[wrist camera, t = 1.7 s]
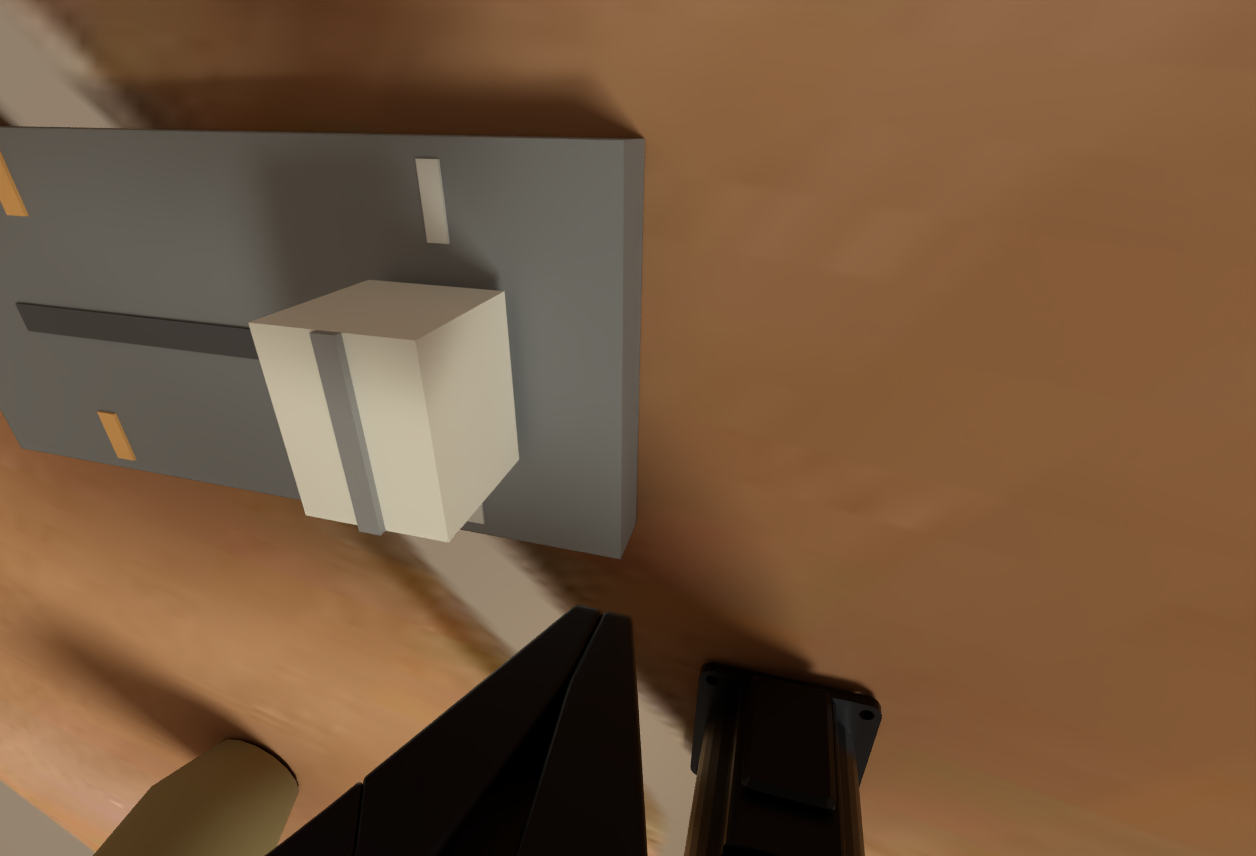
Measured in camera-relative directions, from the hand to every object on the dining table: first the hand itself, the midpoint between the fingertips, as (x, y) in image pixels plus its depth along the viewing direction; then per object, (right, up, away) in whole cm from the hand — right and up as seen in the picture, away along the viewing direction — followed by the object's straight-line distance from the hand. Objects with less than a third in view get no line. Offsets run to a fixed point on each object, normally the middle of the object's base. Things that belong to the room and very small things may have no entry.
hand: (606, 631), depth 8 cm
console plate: (-12, +7, +12) cm, 18 cm away
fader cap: (-5, +4, +8) cm, 10 cm away
